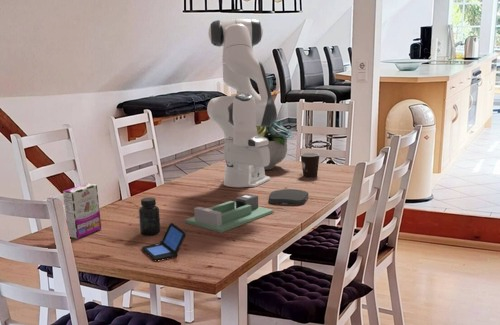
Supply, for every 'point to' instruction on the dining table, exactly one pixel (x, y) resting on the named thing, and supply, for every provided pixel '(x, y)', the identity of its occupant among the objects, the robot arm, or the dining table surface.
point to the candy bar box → (82, 210)
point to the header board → (235, 222)
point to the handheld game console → (166, 244)
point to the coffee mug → (310, 164)
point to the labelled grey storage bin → (247, 201)
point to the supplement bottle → (149, 217)
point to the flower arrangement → (275, 142)
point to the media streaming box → (288, 197)
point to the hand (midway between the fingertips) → (246, 175)
